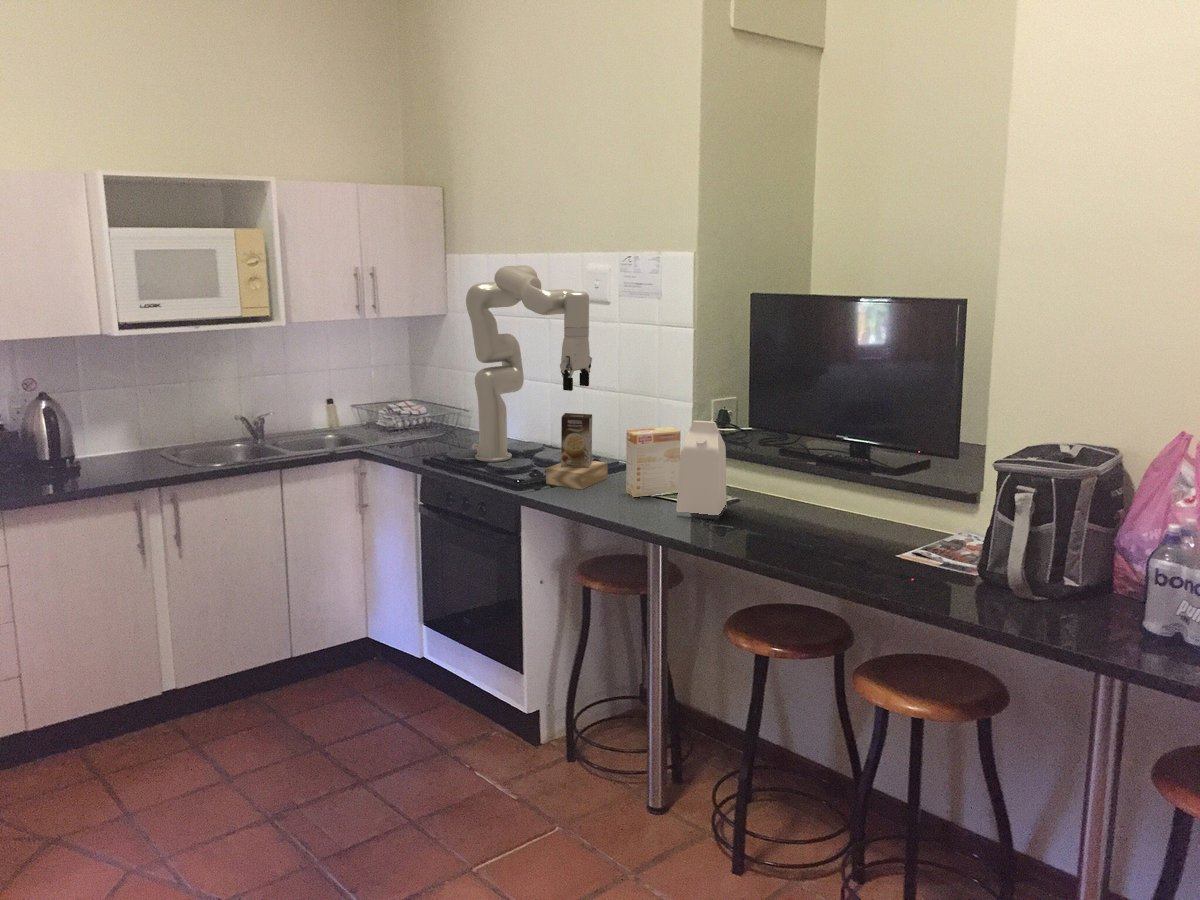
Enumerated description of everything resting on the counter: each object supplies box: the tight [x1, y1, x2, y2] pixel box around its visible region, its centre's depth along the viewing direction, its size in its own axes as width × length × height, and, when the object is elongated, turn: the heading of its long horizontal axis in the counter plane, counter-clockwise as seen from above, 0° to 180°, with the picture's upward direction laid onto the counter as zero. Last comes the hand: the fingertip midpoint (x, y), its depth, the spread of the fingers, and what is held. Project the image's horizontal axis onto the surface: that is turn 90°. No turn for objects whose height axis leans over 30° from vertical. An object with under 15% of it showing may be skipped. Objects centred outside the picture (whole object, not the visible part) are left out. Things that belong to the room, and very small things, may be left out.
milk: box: [675, 420, 727, 515], centre depth 268 cm, size 12×12×26 cm
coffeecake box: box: [625, 426, 681, 498], centre depth 288 cm, size 15×7×20 cm, turn 109°
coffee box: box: [560, 412, 593, 468], centre depth 302 cm, size 9×6×16 cm
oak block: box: [545, 460, 609, 490], centre depth 304 cm, size 13×16×5 cm
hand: (576, 388), depth 298 cm, fingers open, 9 cm apart
